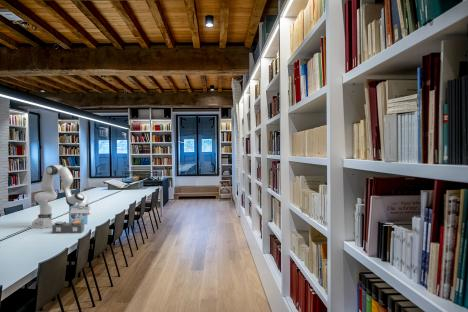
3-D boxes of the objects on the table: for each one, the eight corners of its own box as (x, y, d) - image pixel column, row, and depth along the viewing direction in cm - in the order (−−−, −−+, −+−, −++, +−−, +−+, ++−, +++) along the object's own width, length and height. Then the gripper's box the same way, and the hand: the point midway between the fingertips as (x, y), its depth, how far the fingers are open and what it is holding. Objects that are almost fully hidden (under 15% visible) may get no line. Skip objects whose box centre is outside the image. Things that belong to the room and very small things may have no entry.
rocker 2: (74, 221, 357) (74, 220, 357) (80, 221, 358) (80, 220, 357) (72, 224, 350) (72, 223, 350) (78, 224, 351) (78, 222, 351)
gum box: (86, 222, 401) (87, 203, 401) (87, 223, 397) (87, 204, 397) (68, 224, 391) (69, 204, 391) (69, 225, 386) (69, 205, 386)
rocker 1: (58, 223, 354) (58, 221, 355) (64, 223, 355) (64, 221, 356) (56, 223, 348) (56, 221, 348) (62, 223, 348) (62, 221, 349)
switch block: (52, 233, 345) (52, 223, 345) (55, 231, 356) (56, 221, 356) (80, 233, 349) (81, 223, 349) (84, 230, 360) (84, 221, 360)
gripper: (70, 205, 366) (67, 216, 356) (90, 205, 369) (88, 215, 359) (72, 209, 370) (69, 219, 361) (91, 208, 373) (89, 219, 363)
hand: (78, 217), depth 360 cm, fingers closed
